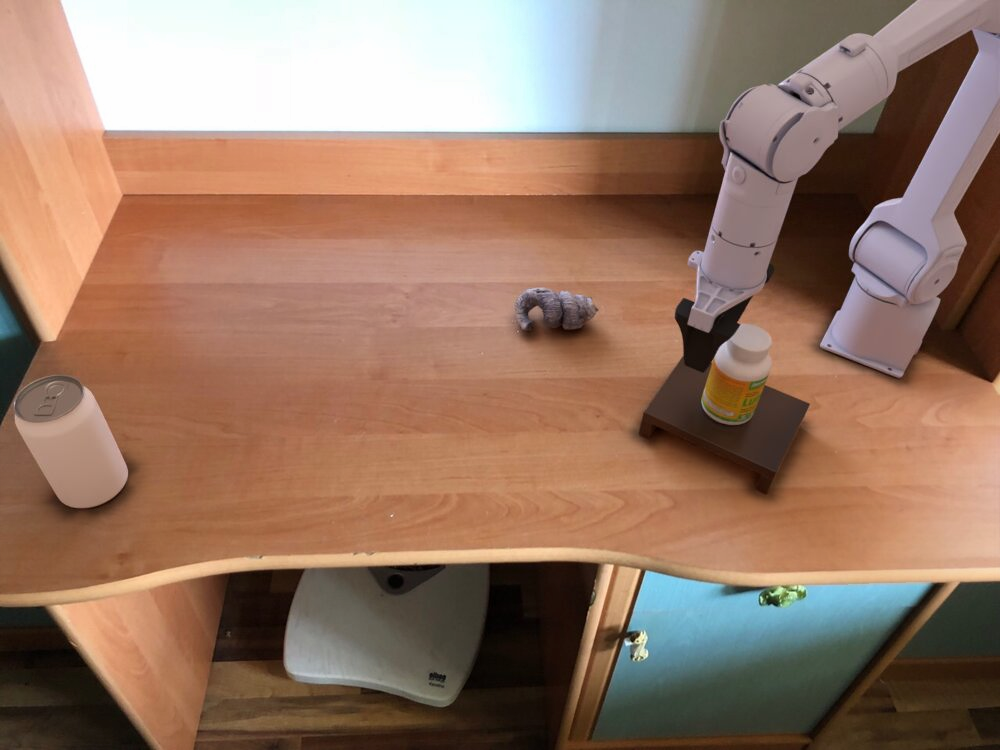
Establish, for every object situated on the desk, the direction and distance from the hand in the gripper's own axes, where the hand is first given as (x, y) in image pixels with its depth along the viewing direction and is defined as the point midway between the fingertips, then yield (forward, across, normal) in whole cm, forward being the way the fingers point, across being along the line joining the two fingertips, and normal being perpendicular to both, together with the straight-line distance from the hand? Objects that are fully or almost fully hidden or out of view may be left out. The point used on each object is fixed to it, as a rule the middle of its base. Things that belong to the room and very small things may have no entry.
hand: (709, 344), depth 78 cm
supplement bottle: (+7, 0, +4) cm, 8 cm away
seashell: (+11, -5, -19) cm, 23 cm away
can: (+11, +41, -44) cm, 61 cm away
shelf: (+10, 0, +4) cm, 11 cm away
